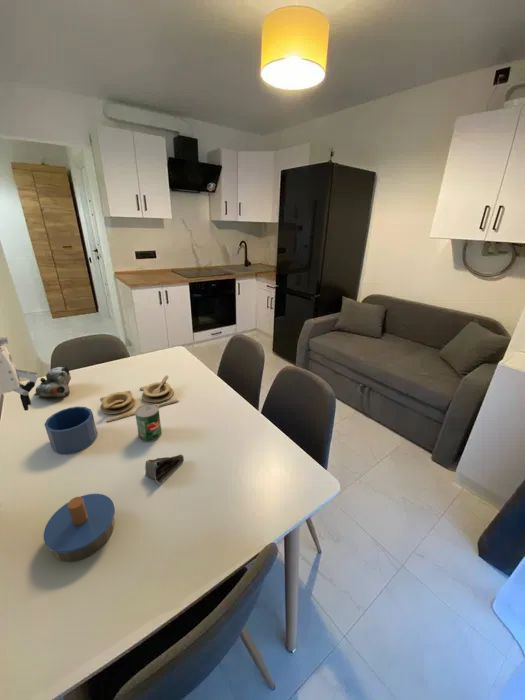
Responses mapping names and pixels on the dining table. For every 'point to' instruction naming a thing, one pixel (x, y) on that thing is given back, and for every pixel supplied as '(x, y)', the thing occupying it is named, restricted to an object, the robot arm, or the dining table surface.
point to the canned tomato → (148, 422)
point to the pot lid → (79, 523)
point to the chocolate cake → (163, 467)
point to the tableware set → (125, 400)
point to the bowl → (88, 549)
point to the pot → (71, 430)
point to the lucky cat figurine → (55, 383)
